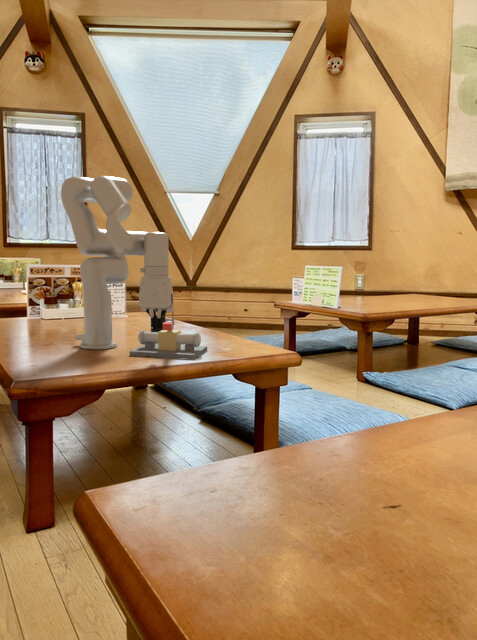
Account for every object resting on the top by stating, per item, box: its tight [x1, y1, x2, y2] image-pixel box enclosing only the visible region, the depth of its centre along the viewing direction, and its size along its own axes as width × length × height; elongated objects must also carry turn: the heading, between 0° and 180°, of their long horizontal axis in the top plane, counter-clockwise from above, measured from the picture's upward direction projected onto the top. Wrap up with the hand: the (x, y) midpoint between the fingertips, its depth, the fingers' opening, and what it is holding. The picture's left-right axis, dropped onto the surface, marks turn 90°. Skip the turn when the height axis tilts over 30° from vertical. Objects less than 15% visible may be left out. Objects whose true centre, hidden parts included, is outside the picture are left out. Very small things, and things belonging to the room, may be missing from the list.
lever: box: [163, 317, 175, 330], centre depth 171 cm, size 14×3×2 cm, turn 4°
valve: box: [129, 329, 208, 360], centre depth 177 cm, size 22×16×9 cm
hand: (156, 329), depth 167 cm, fingers closed
